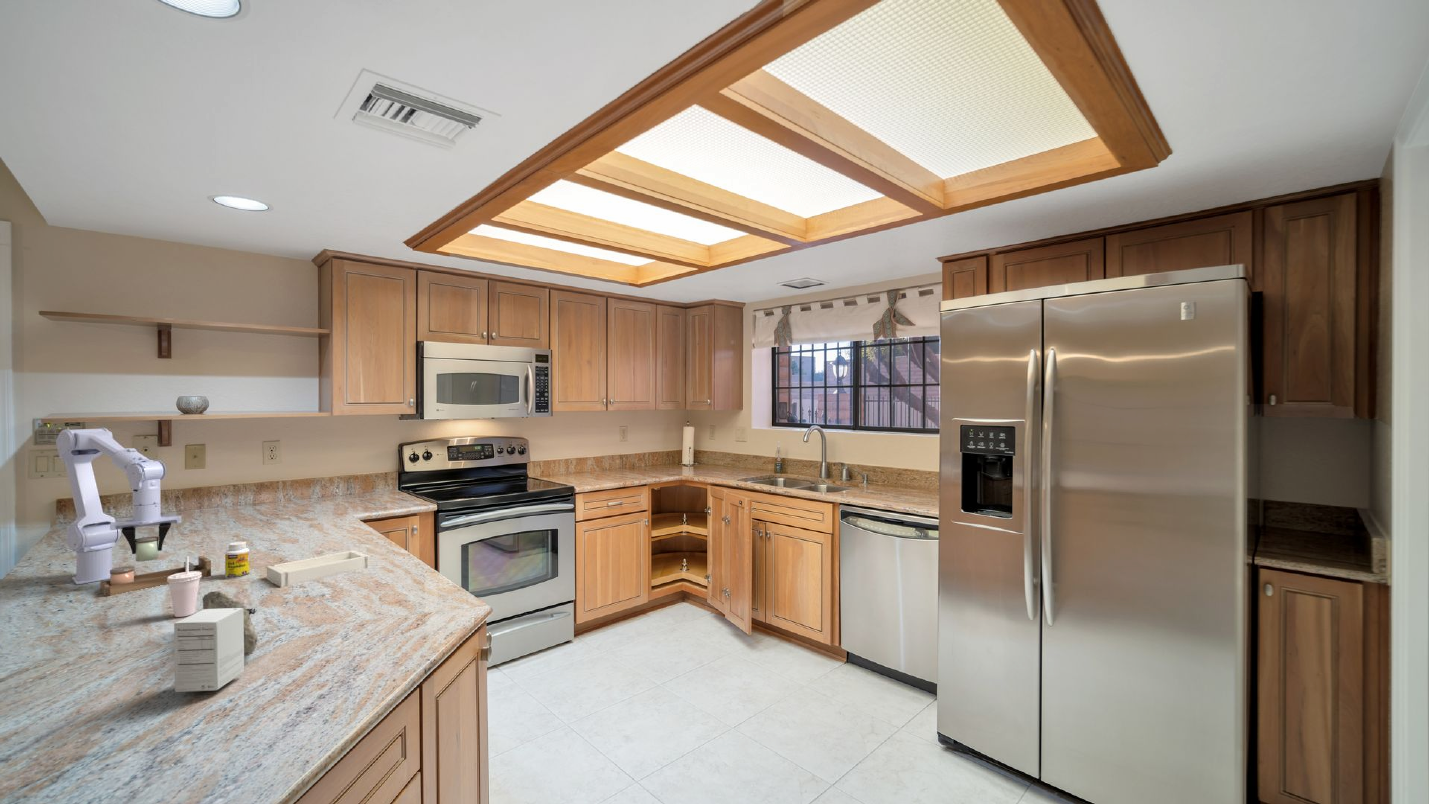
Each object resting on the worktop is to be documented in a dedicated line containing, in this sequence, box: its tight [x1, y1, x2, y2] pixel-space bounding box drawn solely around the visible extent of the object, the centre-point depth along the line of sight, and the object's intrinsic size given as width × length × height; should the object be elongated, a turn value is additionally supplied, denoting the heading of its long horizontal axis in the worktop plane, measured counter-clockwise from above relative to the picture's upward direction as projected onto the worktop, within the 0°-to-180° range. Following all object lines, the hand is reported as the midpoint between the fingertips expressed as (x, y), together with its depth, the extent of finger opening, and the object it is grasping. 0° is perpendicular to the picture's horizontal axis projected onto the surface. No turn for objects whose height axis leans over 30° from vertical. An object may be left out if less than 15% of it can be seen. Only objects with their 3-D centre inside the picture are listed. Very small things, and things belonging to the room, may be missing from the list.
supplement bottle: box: [224, 541, 250, 580], centre depth 175 cm, size 6×6×10 cm
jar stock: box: [109, 565, 135, 586], centre depth 163 cm, size 5×5×6 cm
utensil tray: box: [266, 549, 371, 588], centre depth 178 cm, size 12×23×4 cm, turn 143°
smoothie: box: [167, 555, 202, 618], centre depth 145 cm, size 6×6×14 cm
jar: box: [135, 535, 159, 563], centre depth 167 cm, size 5×5×6 cm
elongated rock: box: [202, 590, 259, 657], centre depth 127 cm, size 35×5×10 cm, turn 53°
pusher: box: [183, 561, 196, 572], centre depth 175 cm, size 6×2×4 cm, turn 53°
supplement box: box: [173, 608, 245, 693], centre depth 110 cm, size 7×7×13 cm
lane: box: [99, 555, 212, 598], centre depth 169 cm, size 9×22×5 cm, turn 143°
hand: (147, 551), depth 168 cm, fingers closed on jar, 5 cm apart
